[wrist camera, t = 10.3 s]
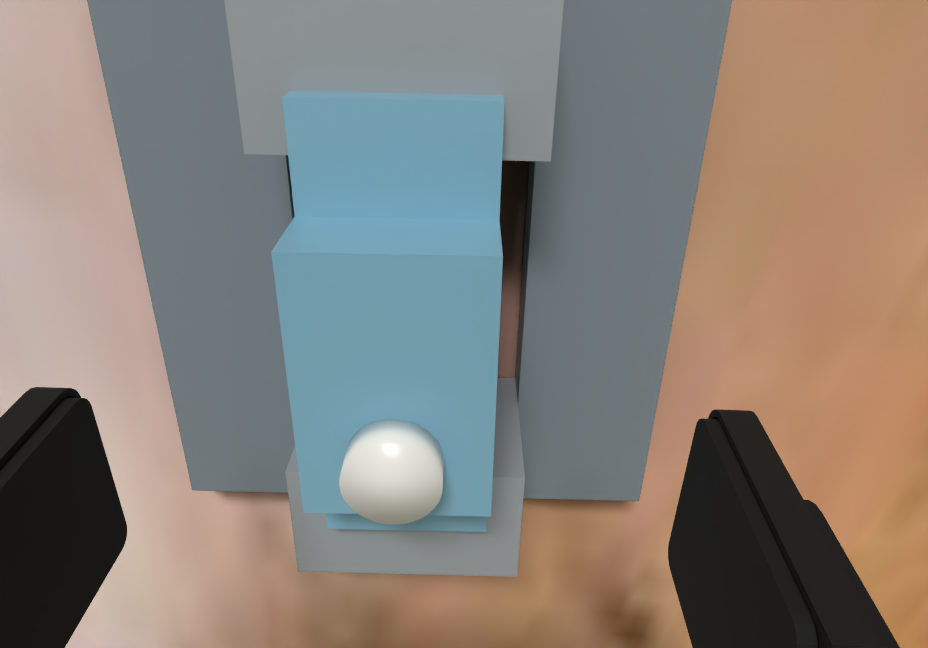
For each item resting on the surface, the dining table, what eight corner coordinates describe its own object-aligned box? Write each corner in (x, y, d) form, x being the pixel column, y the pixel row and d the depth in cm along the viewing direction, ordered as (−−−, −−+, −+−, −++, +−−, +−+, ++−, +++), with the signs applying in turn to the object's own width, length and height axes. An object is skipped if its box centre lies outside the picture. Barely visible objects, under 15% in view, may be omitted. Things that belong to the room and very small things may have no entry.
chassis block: (717, -40, 16) (800, -35, 12) (629, 469, 23) (662, 579, 19) (107, -55, 16) (-16, -55, 12) (208, 459, 23) (152, 567, 19)
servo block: (496, 59, 17) (511, 136, 10) (483, 410, 22) (488, 619, 15) (333, 56, 17) (239, 130, 10) (357, 408, 22) (305, 615, 15)
